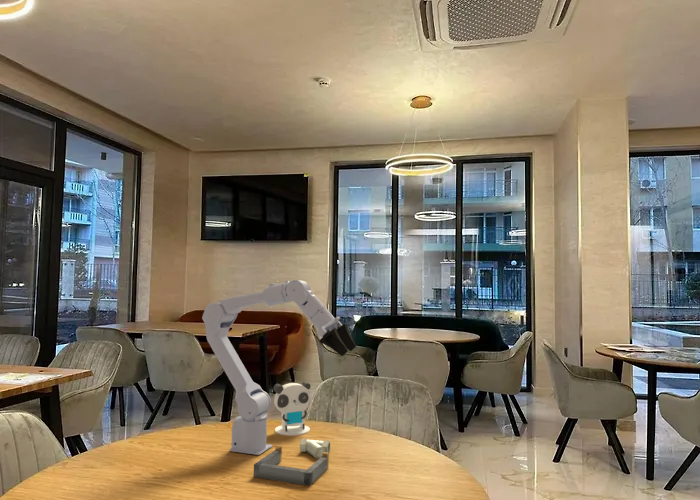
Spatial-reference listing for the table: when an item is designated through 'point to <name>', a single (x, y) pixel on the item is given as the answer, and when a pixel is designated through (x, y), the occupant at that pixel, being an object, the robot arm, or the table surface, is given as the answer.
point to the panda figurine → (292, 407)
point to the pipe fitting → (315, 447)
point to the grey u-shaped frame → (289, 469)
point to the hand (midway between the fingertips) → (349, 351)
